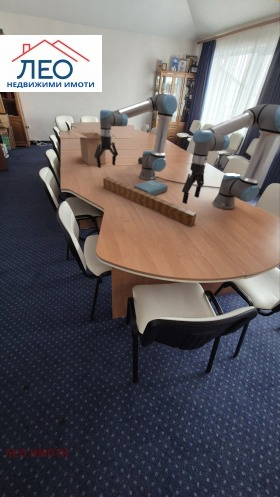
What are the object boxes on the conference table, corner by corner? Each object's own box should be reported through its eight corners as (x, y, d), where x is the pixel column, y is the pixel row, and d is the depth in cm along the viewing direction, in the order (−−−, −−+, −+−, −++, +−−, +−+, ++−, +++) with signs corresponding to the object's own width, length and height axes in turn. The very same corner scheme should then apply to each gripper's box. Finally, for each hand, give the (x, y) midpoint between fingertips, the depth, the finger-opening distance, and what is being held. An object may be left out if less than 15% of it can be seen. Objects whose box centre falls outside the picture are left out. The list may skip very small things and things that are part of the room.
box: (116, 165, 229) (116, 136, 213) (83, 168, 214) (80, 137, 198) (102, 154, 259) (101, 128, 243) (71, 156, 244) (68, 129, 228)
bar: (103, 187, 179) (103, 178, 175) (107, 186, 182) (107, 177, 177) (190, 226, 137) (192, 215, 132) (194, 224, 140) (196, 213, 135)
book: (152, 185, 190) (153, 179, 187) (167, 191, 181) (167, 185, 178) (133, 191, 176) (133, 185, 173) (147, 198, 167) (148, 191, 164)
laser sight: (157, 166, 235) (158, 156, 229) (137, 164, 238) (137, 154, 232) (158, 164, 242) (159, 154, 236) (138, 161, 245) (139, 152, 239)
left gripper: (94, 138, 147) (95, 170, 160) (122, 135, 162) (122, 165, 174) (87, 136, 152) (90, 167, 164) (116, 133, 166) (116, 162, 179)
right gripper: (192, 169, 109) (184, 208, 122) (215, 161, 125) (206, 196, 137) (179, 165, 113) (173, 203, 125) (203, 158, 128) (195, 192, 141)
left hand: (106, 166), depth 169 cm, fingers open, 13 cm apart
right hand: (190, 200), depth 131 cm, fingers open, 13 cm apart
